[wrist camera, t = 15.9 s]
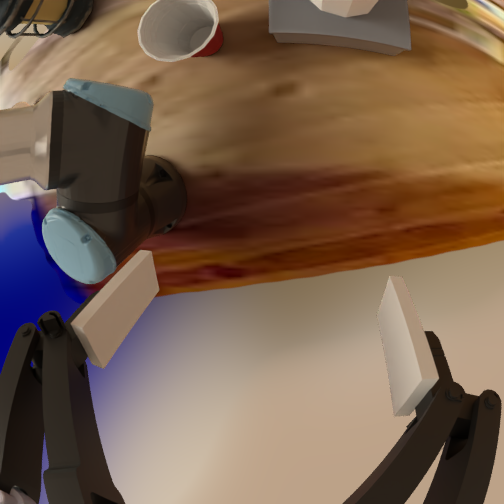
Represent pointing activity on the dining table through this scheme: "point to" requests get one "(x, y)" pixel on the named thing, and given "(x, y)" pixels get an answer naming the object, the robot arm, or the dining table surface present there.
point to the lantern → (44, 16)
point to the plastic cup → (180, 29)
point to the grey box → (342, 26)
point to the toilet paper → (345, 6)
